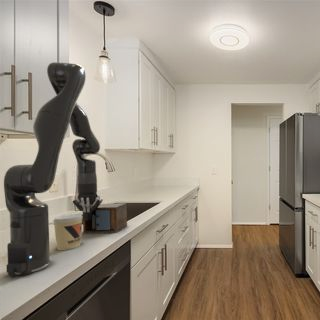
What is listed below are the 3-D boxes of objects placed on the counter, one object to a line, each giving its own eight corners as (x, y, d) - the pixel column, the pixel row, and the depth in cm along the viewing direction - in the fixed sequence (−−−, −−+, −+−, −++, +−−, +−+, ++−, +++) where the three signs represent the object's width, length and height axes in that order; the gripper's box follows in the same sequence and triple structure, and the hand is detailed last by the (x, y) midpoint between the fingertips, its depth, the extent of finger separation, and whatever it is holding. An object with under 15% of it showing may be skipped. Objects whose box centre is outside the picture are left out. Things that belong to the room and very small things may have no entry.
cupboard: (116, 232, 111) (116, 207, 111) (83, 233, 112) (82, 207, 111) (127, 226, 121) (126, 203, 121) (96, 227, 122) (95, 203, 121)
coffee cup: (68, 251, 89) (67, 219, 89) (48, 250, 91) (47, 219, 91) (88, 242, 98) (88, 214, 98) (70, 241, 100) (69, 213, 100)
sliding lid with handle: (105, 232, 108) (104, 211, 108) (90, 232, 108) (90, 212, 108) (110, 229, 112) (110, 209, 112) (97, 229, 112) (96, 210, 112)
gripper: (66, 183, 104) (67, 222, 104) (96, 182, 104) (97, 222, 104) (78, 181, 112) (79, 218, 112) (106, 181, 112) (107, 217, 112)
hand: (88, 220), depth 108 cm, fingers closed
